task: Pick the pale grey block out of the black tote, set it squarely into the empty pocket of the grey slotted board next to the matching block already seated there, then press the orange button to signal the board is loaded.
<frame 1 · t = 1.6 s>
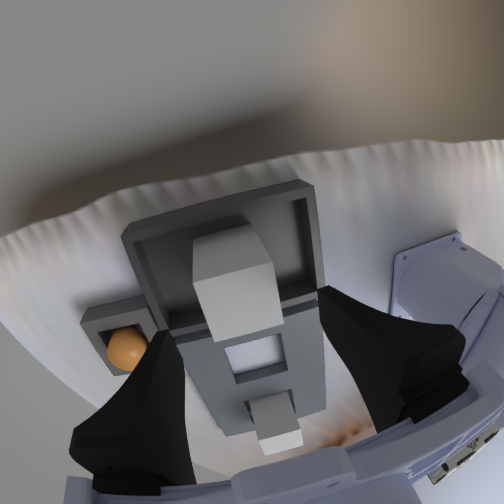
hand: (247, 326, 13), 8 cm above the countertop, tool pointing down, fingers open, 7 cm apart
button housing: (131, 330, 22), on the countertop
pale grey block: (228, 257, 20), point 1 cm above the countertop, touching tote
orange button: (127, 348, 20), point 2 cm above the countertop, slide at 0.0 cm
seated block: (268, 399, 28), resting in grey slotted board
candy bar box: (414, 378, 34), on the countertop
grey slotted board: (262, 378, 27), on the countertop
tote: (227, 253, 21), on the countertop
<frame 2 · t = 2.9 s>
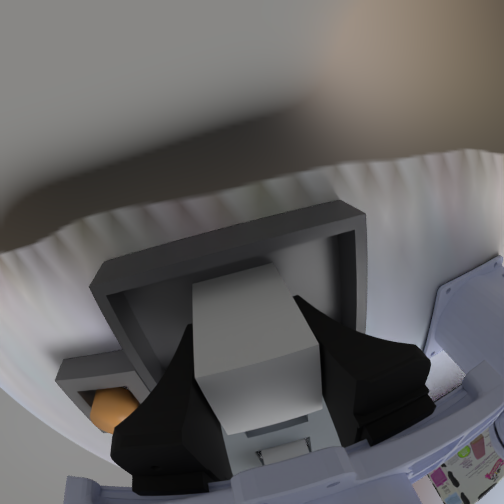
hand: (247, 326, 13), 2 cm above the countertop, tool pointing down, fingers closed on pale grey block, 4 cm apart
button housing: (119, 385, 16), on the countertop
pale grey block: (241, 306, 15), point 1 cm above the countertop, touching gripper, tote
orange button: (115, 411, 14), point 2 cm above the countertop, slide at 0.0 cm
seated block: (282, 444, 23), resting in grey slotted board
candy bar box: (435, 405, 29), on the countertop
grey slotted board: (277, 427, 21), on the countertop
tote: (240, 300, 15), on the countertop
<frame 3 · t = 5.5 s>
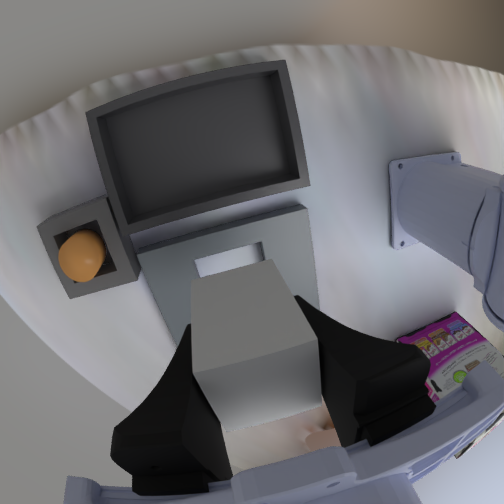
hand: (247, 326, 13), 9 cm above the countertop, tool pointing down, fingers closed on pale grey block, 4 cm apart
button housing: (92, 242, 19), on the countertop
pale grey block: (240, 303, 15), point 7 cm above the countertop, touching gripper
orange button: (82, 255, 17), point 2 cm above the countertop, slide at 0.0 cm
candy bar box: (424, 337, 31), on the countertop
grey slotted board: (244, 314, 24), on the countertop
tote: (198, 142, 18), on the countertop
when the fingers open (2 cm above the countertop, at t = 8.0 s): pale grey block stays where it is, resting in grey slotted board.
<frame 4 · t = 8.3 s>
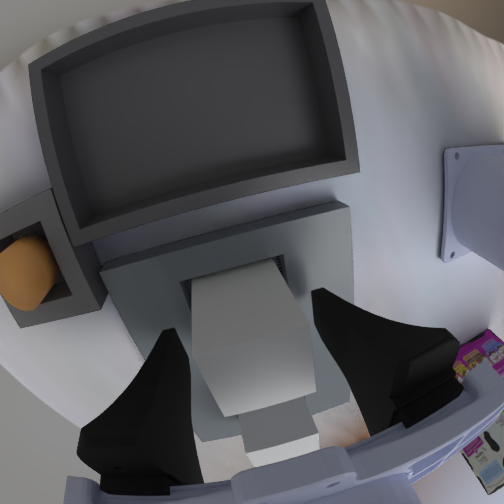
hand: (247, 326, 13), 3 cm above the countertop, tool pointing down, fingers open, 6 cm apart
button housing: (45, 252, 12), on the countertop
pale grey block: (238, 294, 15), resting in grey slotted board
orange button: (25, 272, 10), point 2 cm above the countertop, slide at 0.0 cm
seated block: (264, 386, 19), resting in grey slotted board
candy bar box: (454, 358, 24), on the countertop
grey slotted board: (254, 349, 17), on the countertop
tote: (190, 104, 11), on the countertop
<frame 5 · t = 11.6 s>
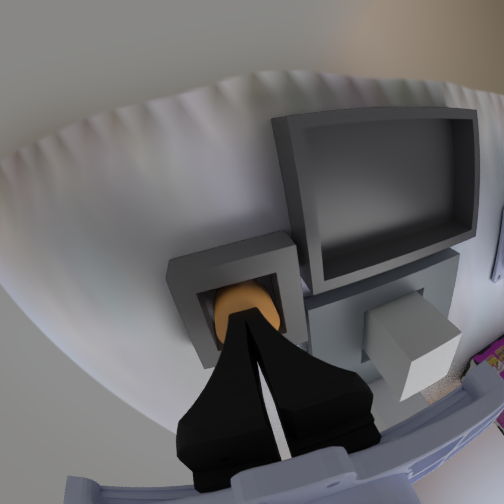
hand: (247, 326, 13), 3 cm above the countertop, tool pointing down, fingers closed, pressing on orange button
button housing: (239, 294, 16), on the countertop
pale grey block: (384, 315, 19), resting in grey slotted board
orange button: (244, 314, 14), point 2 cm above the countertop, slide at 0.4 cm, touching gripper
seated block: (375, 382, 22), resting in grey slotted board
candy bar box: (486, 353, 28), on the countertop
grey slotted board: (380, 354, 20), on the countertop
tote: (386, 179, 15), on the countertop
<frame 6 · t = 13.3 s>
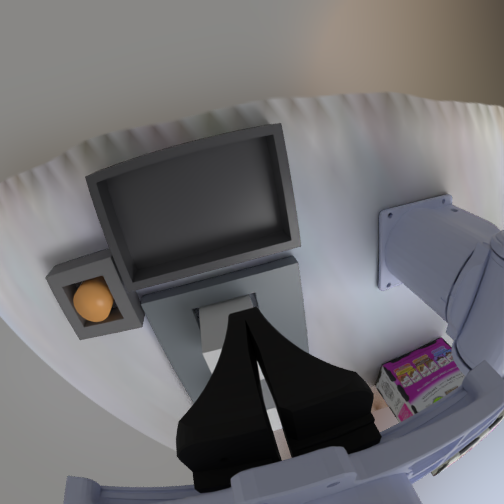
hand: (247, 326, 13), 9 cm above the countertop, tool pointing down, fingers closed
button housing: (99, 289, 20), on the countertop
pale grey block: (228, 315, 23), resting in grey slotted board
orange button: (94, 298, 19), point 1 cm above the countertop, slide at 1.0 cm
seated block: (248, 376, 27), resting in grey slotted board
candy bar box: (409, 361, 33), on the countertop
grey slotted board: (239, 350, 25), on the countertop
tote: (195, 201, 19), on the countertop
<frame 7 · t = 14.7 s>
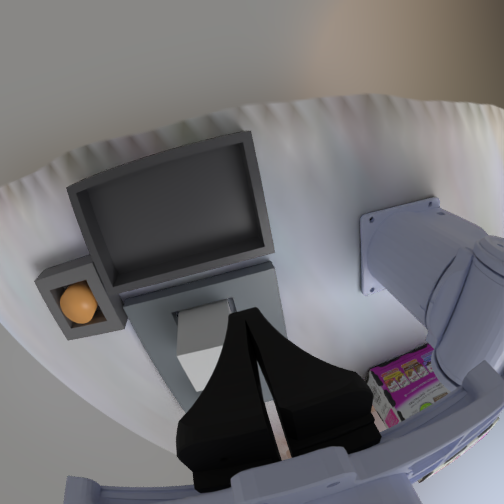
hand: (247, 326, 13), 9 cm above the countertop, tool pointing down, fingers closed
button housing: (84, 292, 21), on the countertop
pale grey block: (208, 318, 24), resting in grey slotted board
orange button: (80, 301, 20), point 1 cm above the countertop, slide at 1.0 cm
candy bar box: (399, 365, 33), on the countertop
grey slotted board: (221, 352, 26), on the countertop
tote: (172, 208, 20), on the countertop
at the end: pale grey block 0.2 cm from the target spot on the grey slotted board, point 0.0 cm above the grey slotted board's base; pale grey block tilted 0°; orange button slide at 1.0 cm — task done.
